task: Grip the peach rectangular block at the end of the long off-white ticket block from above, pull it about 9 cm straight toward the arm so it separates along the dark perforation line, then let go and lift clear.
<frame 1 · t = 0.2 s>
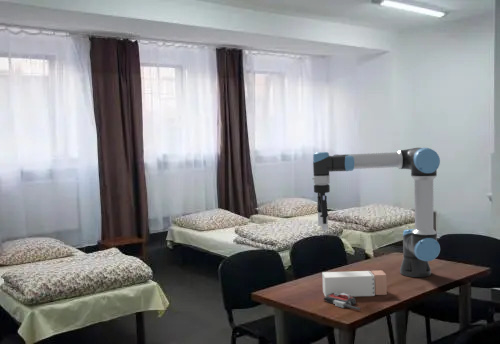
hand: (322, 228, 249), 28 cm above the table, tool pointing down, fingers open, 13 cm apart
peach rectangular block: (378, 282, 234), point 5 cm above the table, slide at 0.0 cm
ticket block: (348, 293, 235), on the table
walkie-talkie: (345, 305, 220), on the table
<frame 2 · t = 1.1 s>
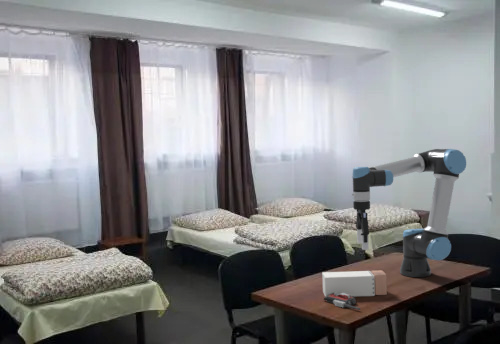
hand: (362, 246, 238), 21 cm above the table, tool pointing down, fingers open, 13 cm apart
nothing on the table moved.
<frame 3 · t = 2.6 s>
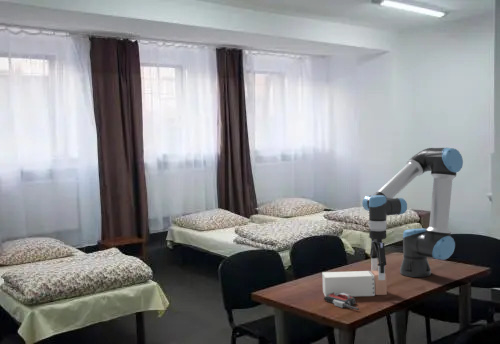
hand: (377, 276, 234), 8 cm above the table, tool pointing down, fingers open, 13 cm apart
nothing on the table moved.
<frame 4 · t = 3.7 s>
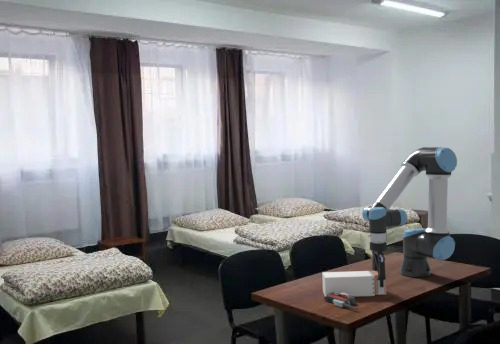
hand: (378, 290, 235), 1 cm above the table, tool pointing down, fingers closed on peach rectangular block, 8 cm apart
peach rectangular block: (378, 282, 234), point 5 cm above the table, slide at 0.0 cm, touching gripper
everything else where it was.
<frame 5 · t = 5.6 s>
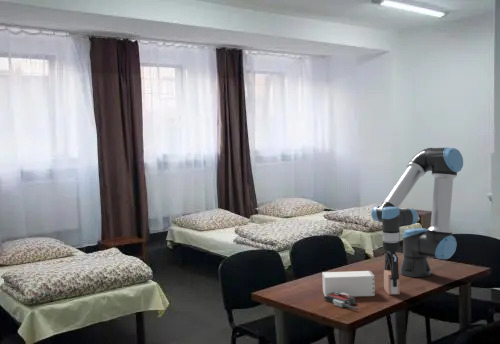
hand: (391, 290, 235), 1 cm above the table, tool pointing down, fingers closed on peach rectangular block, 8 cm apart
peach rectangular block: (391, 282, 234), point 5 cm above the table, slide at 5.9 cm, touching gripper
everything else where it was.
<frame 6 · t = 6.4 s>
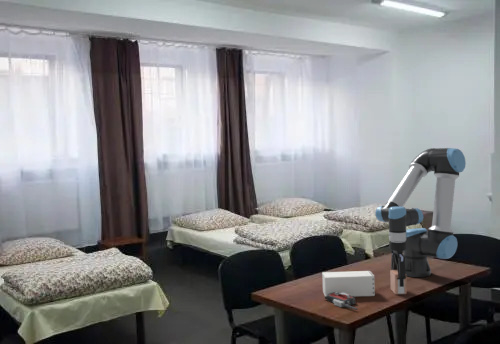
hand: (398, 290, 235), 1 cm above the table, tool pointing down, fingers closed on peach rectangular block, 8 cm apart
peach rectangular block: (398, 281, 234), point 5 cm above the table, slide at 8.9 cm, touching gripper
everything else where it was.
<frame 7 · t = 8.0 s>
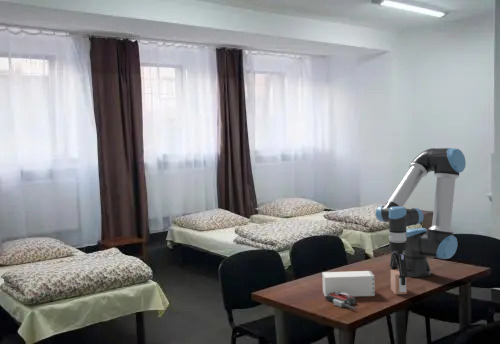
hand: (398, 287, 235), 2 cm above the table, tool pointing down, fingers open, 12 cm apart
peach rectangular block: (398, 281, 234), point 5 cm above the table, slide at 9.0 cm
everything else where it was.
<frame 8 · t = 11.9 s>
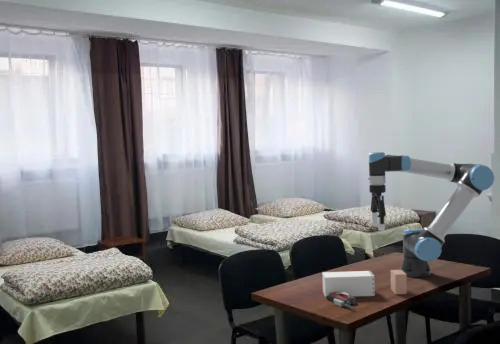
hand: (378, 228, 249), 27 cm above the table, tool pointing down, fingers open, 13 cm apart
at the end: peach rectangular block slide at 9.0 cm; the gripper is holding nothing; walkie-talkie moved 1.3 cm from its start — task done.
